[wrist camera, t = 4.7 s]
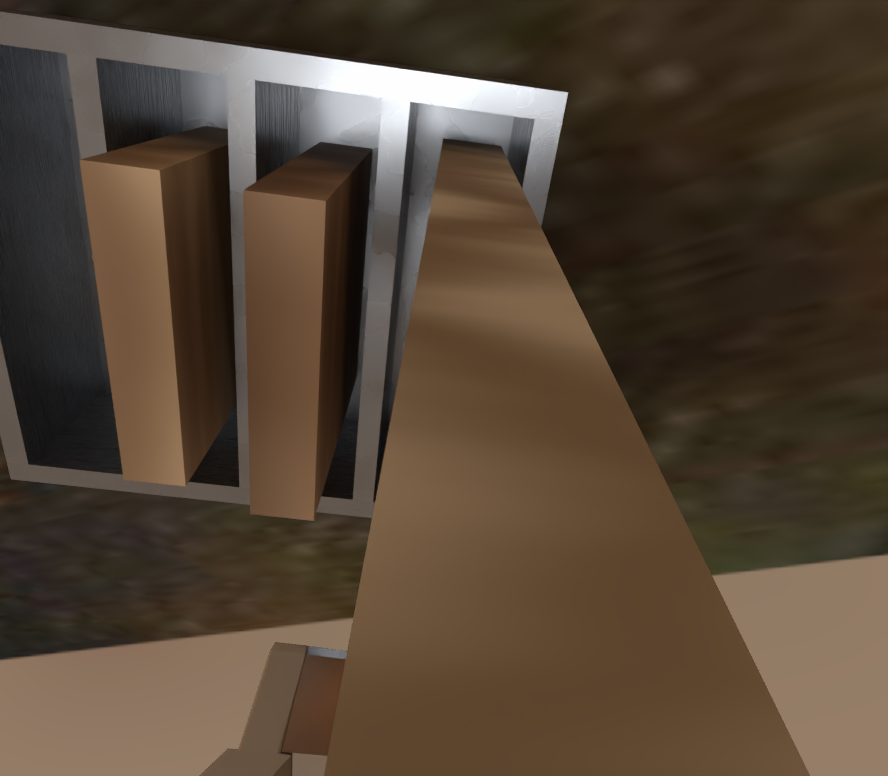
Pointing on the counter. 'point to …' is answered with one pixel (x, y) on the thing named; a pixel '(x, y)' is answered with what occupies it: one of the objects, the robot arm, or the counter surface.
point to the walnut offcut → (302, 320)
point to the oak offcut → (165, 296)
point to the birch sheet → (531, 542)
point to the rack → (250, 159)
